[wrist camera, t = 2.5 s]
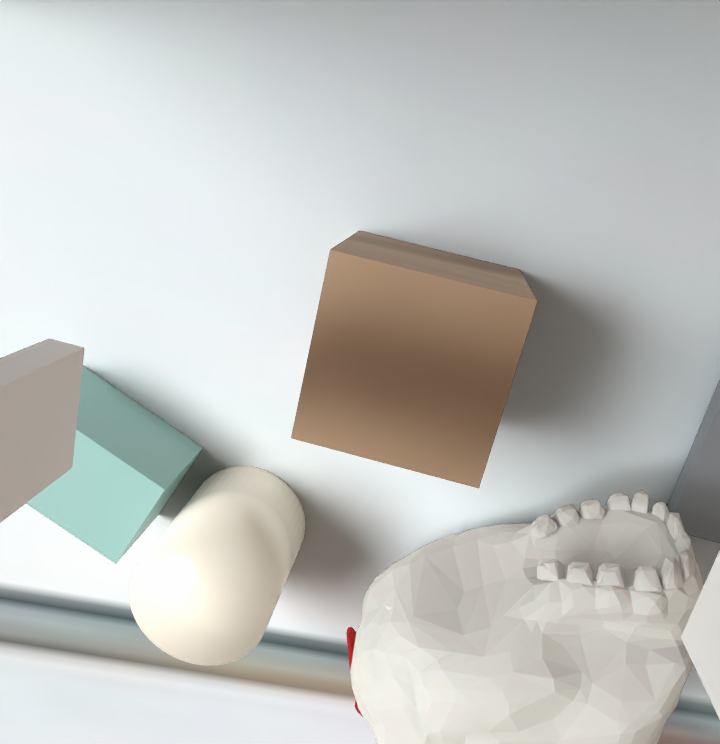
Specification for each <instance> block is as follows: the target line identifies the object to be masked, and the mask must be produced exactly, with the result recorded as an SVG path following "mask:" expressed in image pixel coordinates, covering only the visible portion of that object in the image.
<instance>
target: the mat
mask: <svg viewBox="0 0 720 744" xmlns="http://www.w3.org/2000/svg"><path fill="white" fill-rule="evenodd" d="M667 508H668V511H669V514H670V512H673V513H679V515H680V518H681V521H682V524H683V527H684V530H685V532H686V533H687V534H688V535H692V536H696V537H699V538H703V539H707V540H711V541H714V542H718V543H720V380H719V383H718V385H717V387H716V390H715V392H714V395H713V397H712V399H711V402H710V404H709V407H708V409H707V411H706V414H705V416H704V419H703V421H702V423H701V426H700V428H699V431H698V433H697V435H696V438H695V440H694V443H693V445H692V447H691V450H690V452H689V455H688V457H687V459H686V462H685V464H684V467H683V469H682V471H681V474H680V476H679V479H678V481H677V483H676V486H675V488H674V491H673V493H672V495H671V498H670V500H669V503H668V505H667Z"/></svg>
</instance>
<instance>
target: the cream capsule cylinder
mask: <svg viewBox="0 0 720 744" xmlns="http://www.w3.org/2000/svg"><path fill="white" fill-rule="evenodd" d="M305 529H306V521H305V514H304V511H303V507H302V505H301V503H300V501H299V499H298V497H297V496H296V494H295V493H294V491H293V490H292V489H291V488H290V487H289V486H288V485H287V484H286V483H285V482H284V481H283V480H281V479H280V478H279V477H277V476H275V475H274V474H272V473H270V472H268V471H265V470H262V469H259V468H255V467H250V466H235V467H229V468H226V469H222V470H220V471H218V472H216V473H214V474H213V475H211V476H210V477H209V478H208V479H206V480H205V481H204V483H203V484H202V485H201V486H200V487H199V489H198V490H197V491H196V492H195V494H194V495H193V496H192V497H191V499H190V500H189V501H188V502H187V503H186V505H185V506H184V507H183V508H182V510H181V511H180V512H179V513H178V515H177V516H176V517H175V518H174V520H173V521H172V522H171V523H170V524H169V526H168V527H167V528H166V529H165V531H164V532H163V533H162V534H161V536H160V537H159V538H158V539H157V541H156V542H155V543H154V544H153V545H152V547H151V548H150V549H149V550H148V552H147V553H146V554H145V555H144V557H143V558H142V559H141V560H140V562H139V563H138V564H137V566H136V567H135V569H134V571H133V574H132V576H131V580H130V584H129V601H130V606H131V610H132V613H133V615H134V618H135V620H136V622H137V624H138V625H139V627H140V628H141V630H142V631H143V633H144V634H145V635H146V636H147V637H148V638H149V639H150V640H151V641H152V642H153V643H154V644H155V645H156V646H157V647H159V648H160V649H161V650H163V651H164V652H166V653H168V654H169V655H171V656H173V657H175V658H177V659H180V660H182V661H185V662H188V663H193V664H197V665H211V666H214V665H223V664H227V663H231V662H234V661H236V660H239V659H240V658H242V657H244V656H246V655H247V654H248V653H250V652H251V651H252V650H253V649H254V648H255V647H256V646H257V645H258V643H259V642H260V640H261V639H262V637H263V634H264V632H265V630H266V628H267V625H268V623H269V620H270V618H271V616H272V613H273V611H274V609H275V606H276V604H277V601H278V599H279V597H280V594H281V592H282V589H283V587H284V585H285V582H286V580H287V577H288V575H289V573H290V570H291V568H292V566H293V563H294V561H295V558H296V556H297V554H298V551H299V549H300V546H301V544H302V542H303V539H304V535H305Z"/></svg>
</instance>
